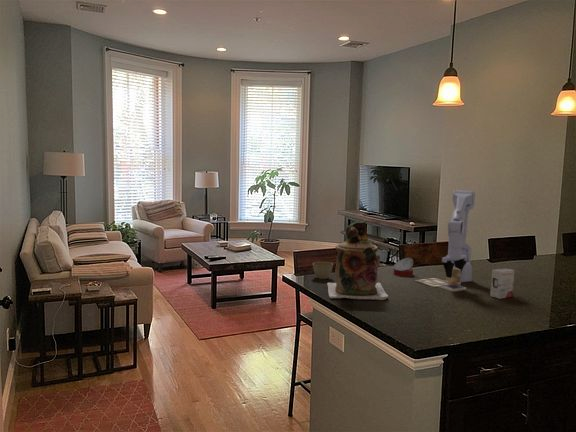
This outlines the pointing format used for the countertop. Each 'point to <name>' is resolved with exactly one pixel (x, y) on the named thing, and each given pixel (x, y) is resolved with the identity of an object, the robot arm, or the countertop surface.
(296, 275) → the countertop surface
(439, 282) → the marked board
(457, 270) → the stamp
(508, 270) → the ink box
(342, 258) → the cookie jar
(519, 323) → the countertop surface
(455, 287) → the ink pad
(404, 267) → the canned food
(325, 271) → the flower pot
